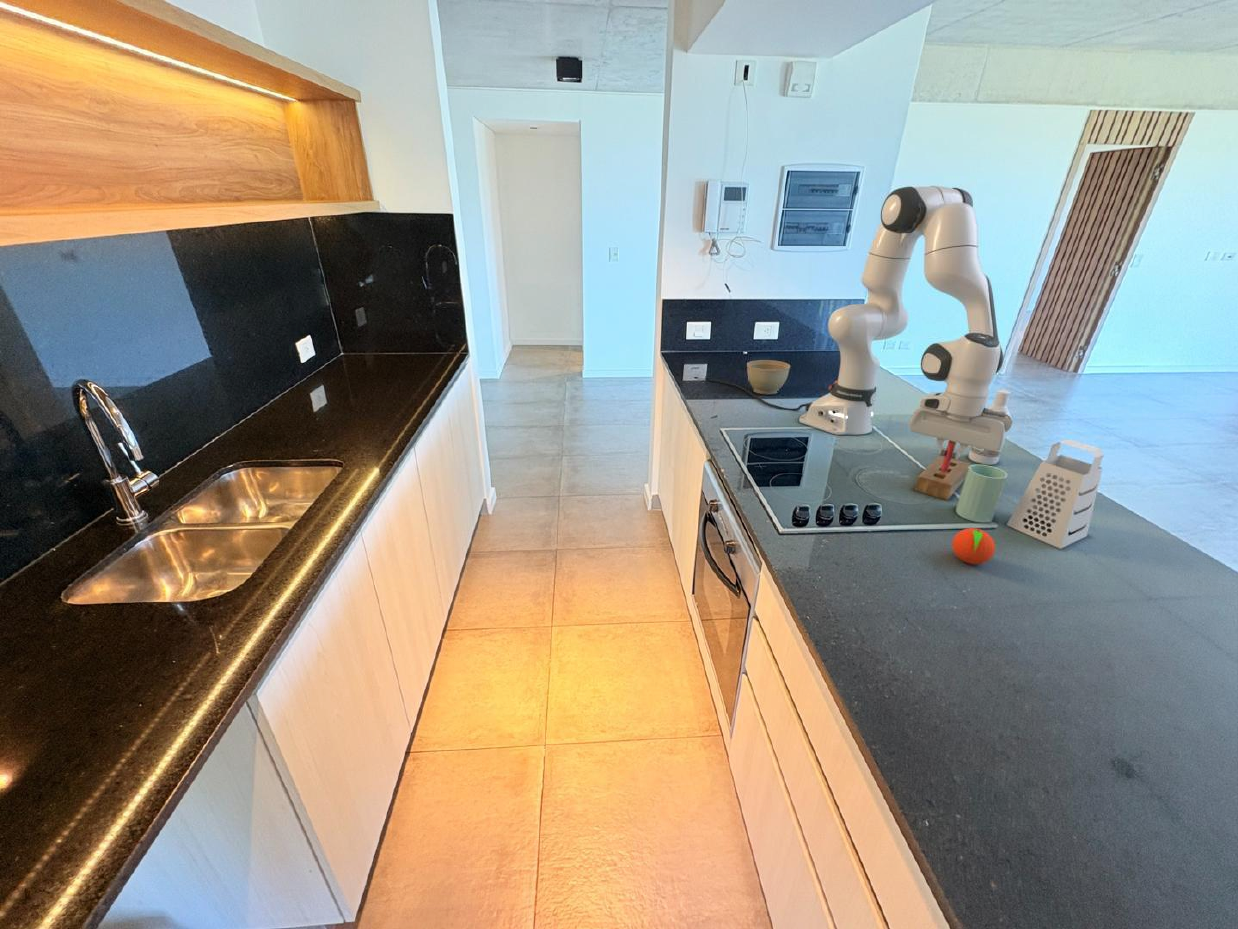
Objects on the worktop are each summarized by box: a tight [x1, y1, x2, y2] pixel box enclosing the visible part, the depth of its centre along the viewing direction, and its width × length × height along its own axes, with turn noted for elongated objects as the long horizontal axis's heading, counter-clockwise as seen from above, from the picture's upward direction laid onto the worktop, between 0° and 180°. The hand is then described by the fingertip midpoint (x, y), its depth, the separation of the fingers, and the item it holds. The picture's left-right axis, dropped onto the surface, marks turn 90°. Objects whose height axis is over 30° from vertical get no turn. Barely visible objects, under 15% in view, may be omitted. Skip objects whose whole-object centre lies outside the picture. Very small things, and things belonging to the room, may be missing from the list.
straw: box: [941, 440, 957, 472], centre depth 132 cm, size 2×2×14 cm
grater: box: [1006, 438, 1105, 549], centre depth 110 cm, size 10×10×20 cm
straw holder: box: [914, 455, 972, 501], centre depth 134 cm, size 7×17×4 cm, turn 136°
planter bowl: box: [746, 359, 791, 395], centre depth 206 cm, size 16×16×11 cm
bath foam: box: [968, 389, 1011, 466], centre depth 144 cm, size 7×7×20 cm
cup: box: [955, 463, 1009, 524], centre depth 118 cm, size 7×7×11 cm
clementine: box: [951, 527, 996, 565], centre depth 102 cm, size 8×7×7 cm
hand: (948, 456), depth 132 cm, fingers closed on straw, 1 cm apart
